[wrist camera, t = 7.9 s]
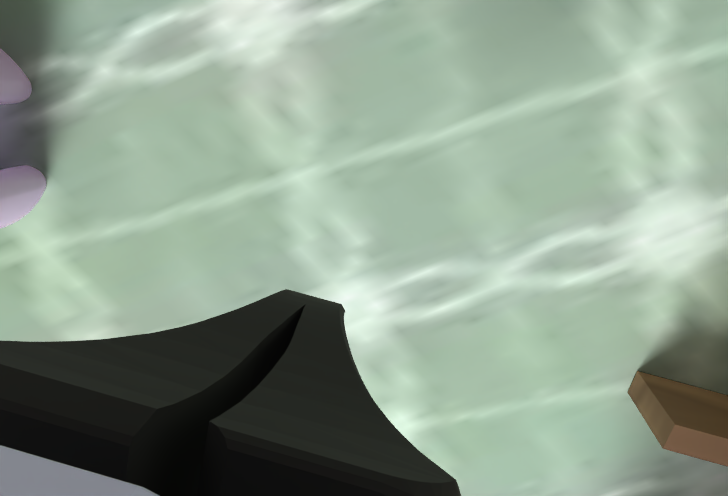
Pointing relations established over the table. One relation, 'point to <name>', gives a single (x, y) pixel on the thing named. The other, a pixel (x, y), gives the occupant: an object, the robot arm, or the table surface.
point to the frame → (683, 416)
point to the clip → (21, 183)
